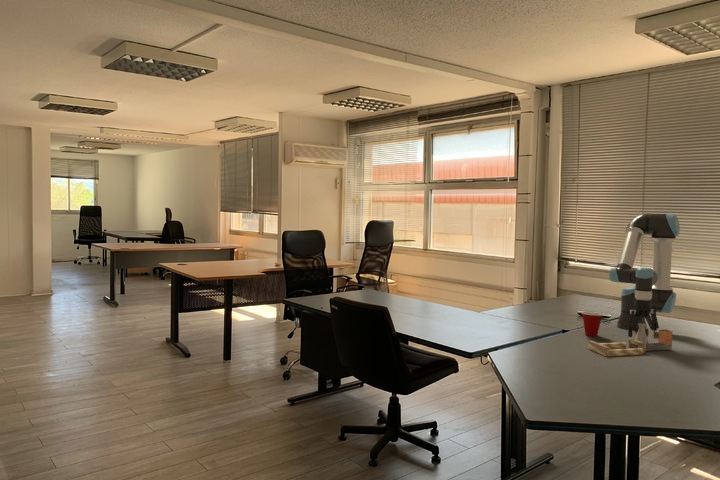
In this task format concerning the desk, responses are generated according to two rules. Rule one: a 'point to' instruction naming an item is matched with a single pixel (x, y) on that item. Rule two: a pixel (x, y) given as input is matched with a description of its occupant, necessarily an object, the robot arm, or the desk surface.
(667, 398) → the desk surface
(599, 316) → the plastic cup
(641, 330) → the flask
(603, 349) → the wooden tray
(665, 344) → the grey orange angled block
